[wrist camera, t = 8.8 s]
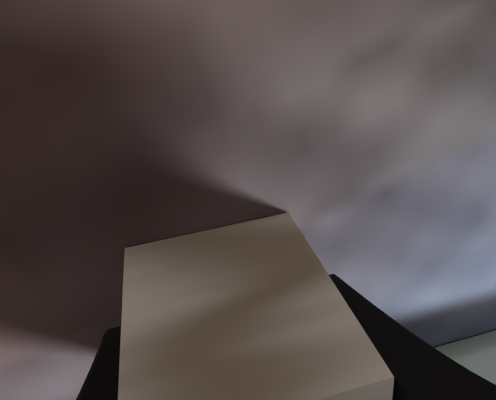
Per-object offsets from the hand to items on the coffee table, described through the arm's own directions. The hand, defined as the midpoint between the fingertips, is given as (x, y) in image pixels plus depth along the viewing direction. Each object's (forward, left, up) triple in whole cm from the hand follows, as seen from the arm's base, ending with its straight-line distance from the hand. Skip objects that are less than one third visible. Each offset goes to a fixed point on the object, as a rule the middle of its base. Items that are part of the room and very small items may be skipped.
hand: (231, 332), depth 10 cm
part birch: (0, 0, -1) cm, 1 cm away
